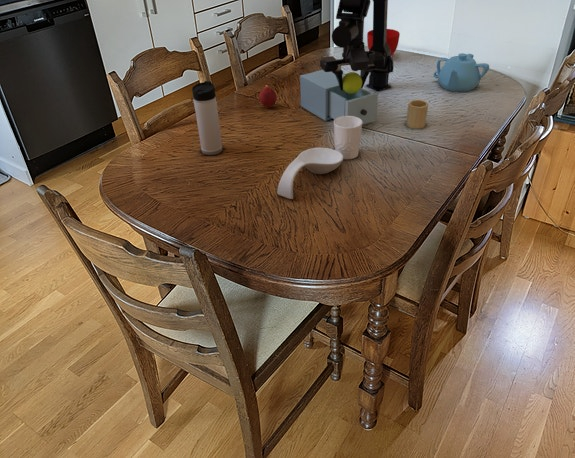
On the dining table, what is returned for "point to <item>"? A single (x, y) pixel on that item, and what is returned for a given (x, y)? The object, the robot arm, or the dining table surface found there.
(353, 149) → the white cup
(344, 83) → the ball
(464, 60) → the teapot
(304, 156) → the spoon rest
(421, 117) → the stand
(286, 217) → the dining table surface
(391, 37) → the ceramic cup
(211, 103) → the travel mug
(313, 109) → the cabinet
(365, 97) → the drawer
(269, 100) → the onion
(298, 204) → the dining table surface
